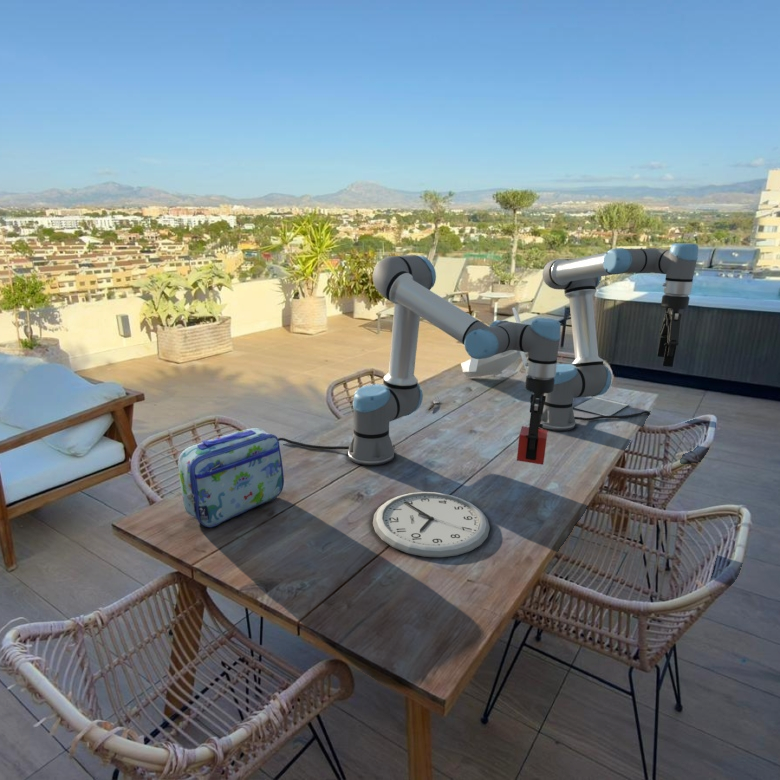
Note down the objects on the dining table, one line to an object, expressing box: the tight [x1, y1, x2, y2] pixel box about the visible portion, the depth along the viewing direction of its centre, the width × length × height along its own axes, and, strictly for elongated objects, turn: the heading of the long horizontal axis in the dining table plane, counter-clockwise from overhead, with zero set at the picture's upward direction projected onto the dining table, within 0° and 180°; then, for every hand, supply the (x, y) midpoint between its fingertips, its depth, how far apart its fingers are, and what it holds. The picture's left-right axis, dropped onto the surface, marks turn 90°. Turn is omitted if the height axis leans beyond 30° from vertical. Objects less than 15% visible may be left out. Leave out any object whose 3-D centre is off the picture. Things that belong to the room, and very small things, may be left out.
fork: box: [427, 395, 442, 411], centre depth 223 cm, size 3×16×2 cm, turn 160°
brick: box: [516, 426, 549, 465], centre depth 148 cm, size 7×7×8 cm
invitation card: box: [573, 396, 629, 416], centre depth 226 cm, size 21×1×15 cm
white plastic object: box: [460, 307, 528, 378], centre depth 258 cm, size 37×45×31 cm
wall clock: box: [372, 491, 490, 558], centre depth 135 cm, size 30×2×30 cm
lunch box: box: [177, 427, 285, 528], centre depth 137 cm, size 26×11×21 cm, turn 134°
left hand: (531, 453), depth 149 cm, fingers closed on brick, 7 cm apart
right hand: (664, 361), depth 169 cm, fingers open, 13 cm apart
